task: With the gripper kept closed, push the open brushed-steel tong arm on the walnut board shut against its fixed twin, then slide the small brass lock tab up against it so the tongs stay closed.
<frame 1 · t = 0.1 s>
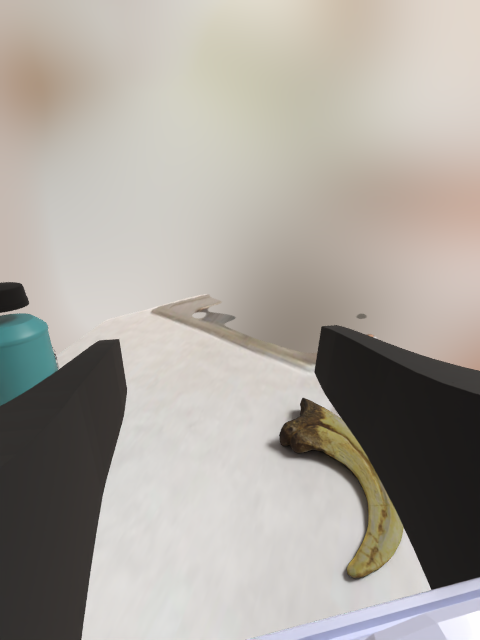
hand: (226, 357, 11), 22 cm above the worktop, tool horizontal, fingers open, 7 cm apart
beverage bottle: (45, 457, 34), on the worktop
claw: (334, 474, 33), on the worktop
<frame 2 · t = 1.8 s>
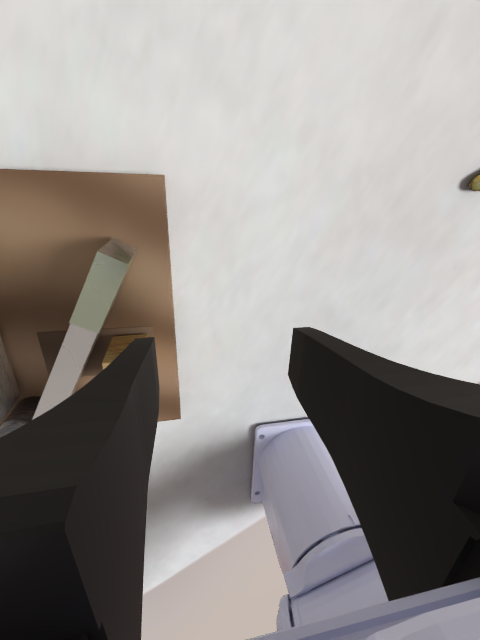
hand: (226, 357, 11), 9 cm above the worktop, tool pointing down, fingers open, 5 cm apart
tongs fixed: (36, 411, 19), resting on board
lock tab: (128, 368, 17), point 3 cm above the worktop, slide at 0.0 cm
board: (74, 316, 18), on the worktop
tong arm: (81, 343, 16), point 3 cm above the worktop, hinge at 28.0°
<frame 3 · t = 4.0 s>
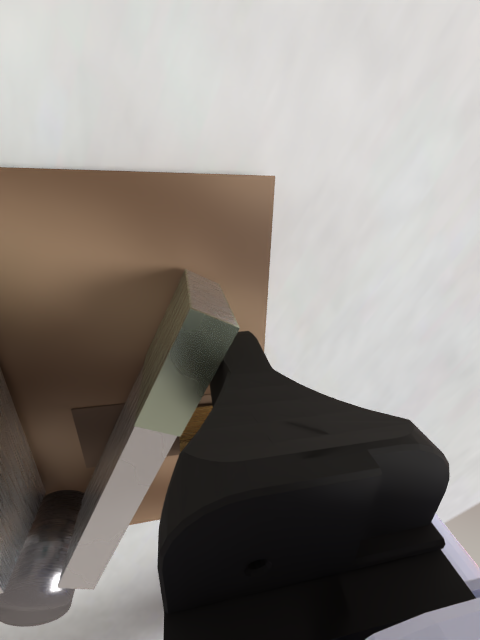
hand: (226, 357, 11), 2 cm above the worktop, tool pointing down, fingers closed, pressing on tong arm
tongs fixed: (66, 508, 14), resting on board
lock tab: (208, 462, 11), point 3 cm above the worktop, slide at 0.0 cm
board: (120, 378, 13), on the worktop
tong arm: (139, 433, 10), point 3 cm above the worktop, hinge at 26.6°, touching gripper
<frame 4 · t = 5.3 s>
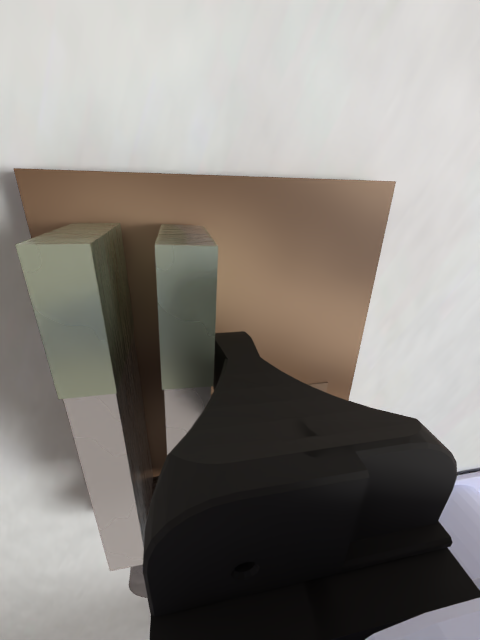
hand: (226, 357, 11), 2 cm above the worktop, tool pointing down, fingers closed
tongs fixed: (165, 492, 14), resting on board
board: (222, 369, 14), on the worktop
tong arm: (186, 401, 10), point 3 cm above the worktop, hinge at 2.4°, touching gripper
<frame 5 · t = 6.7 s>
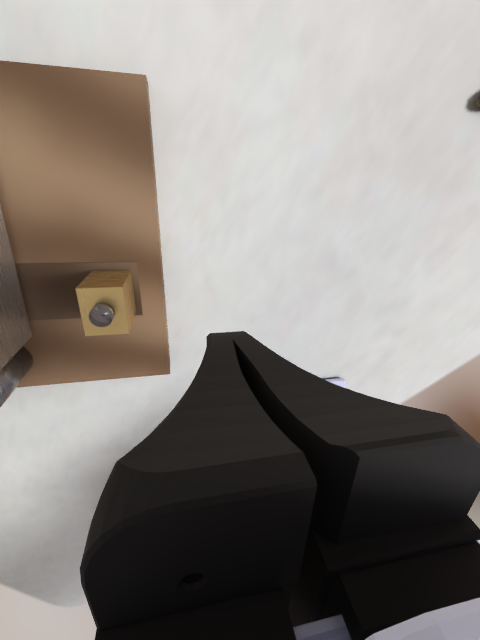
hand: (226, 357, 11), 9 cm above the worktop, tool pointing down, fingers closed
tongs fixed: (9, 359, 17), resting on board
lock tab: (108, 303, 15), point 3 cm above the worktop, slide at 0.0 cm
board: (49, 250, 16), on the worktop
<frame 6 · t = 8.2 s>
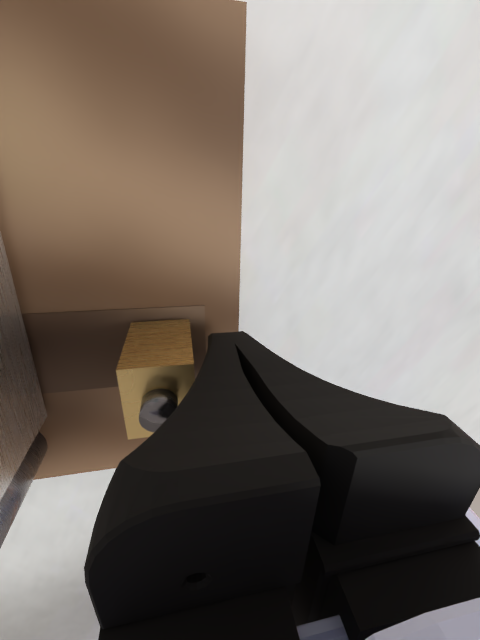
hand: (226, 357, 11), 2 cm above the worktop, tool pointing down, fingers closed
tongs fixed: (13, 445, 12), resting on board
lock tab: (161, 378, 9), point 3 cm above the worktop, slide at 0.3 cm, touching gripper
board: (73, 289, 11), on the worktop
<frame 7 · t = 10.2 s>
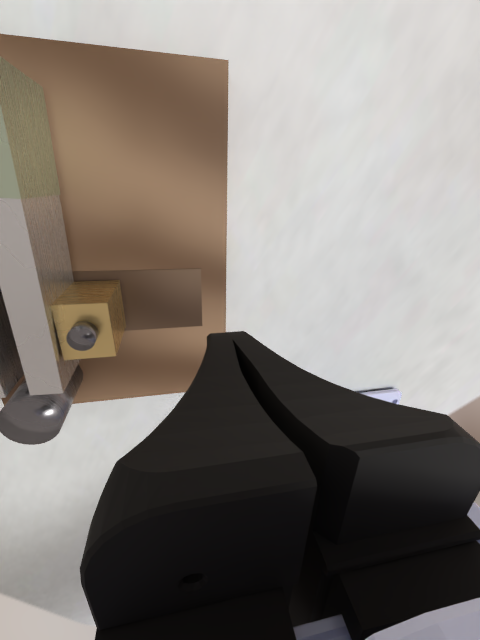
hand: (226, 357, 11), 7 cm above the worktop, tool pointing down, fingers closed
tongs fixed: (58, 374, 16), resting on board
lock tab: (92, 319, 13), point 3 cm above the worktop, slide at 3.6 cm, touching tong arm
board: (105, 256, 15), on the worktop
tong arm: (34, 249, 11), point 3 cm above the worktop, hinge at 2.2°, touching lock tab
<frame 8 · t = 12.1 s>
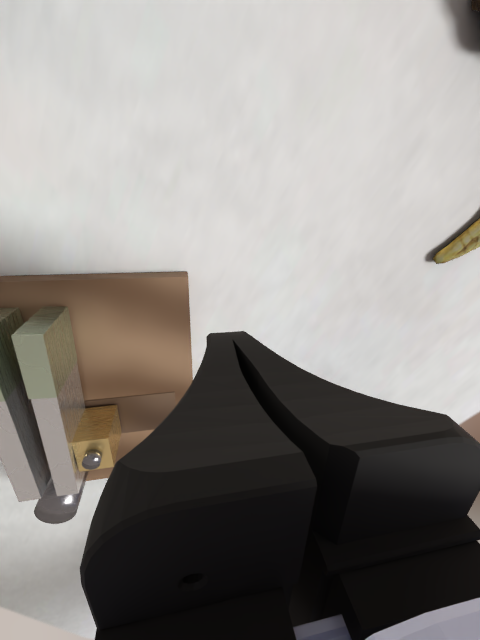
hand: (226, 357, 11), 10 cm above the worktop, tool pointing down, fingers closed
tongs fixed: (73, 463, 22), resting on board
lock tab: (98, 440, 19), point 3 cm above the worktop, slide at 3.6 cm, touching tong arm
board: (107, 383, 21), on the worktop
tong arm: (61, 404, 17), point 3 cm above the worktop, hinge at 2.2°, touching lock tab
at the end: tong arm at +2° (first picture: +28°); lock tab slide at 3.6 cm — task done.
